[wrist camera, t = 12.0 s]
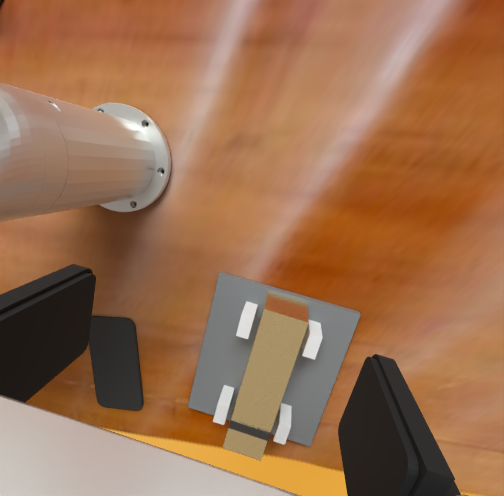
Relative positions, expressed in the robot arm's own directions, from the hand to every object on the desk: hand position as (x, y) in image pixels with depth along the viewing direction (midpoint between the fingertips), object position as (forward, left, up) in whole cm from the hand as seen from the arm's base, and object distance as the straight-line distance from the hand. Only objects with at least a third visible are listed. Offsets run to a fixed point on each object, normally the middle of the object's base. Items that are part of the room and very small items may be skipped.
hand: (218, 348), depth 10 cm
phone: (-17, -27, -29) cm, 43 cm away
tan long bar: (+4, -19, -27) cm, 33 cm away
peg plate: (+4, -19, -28) cm, 34 cm away
